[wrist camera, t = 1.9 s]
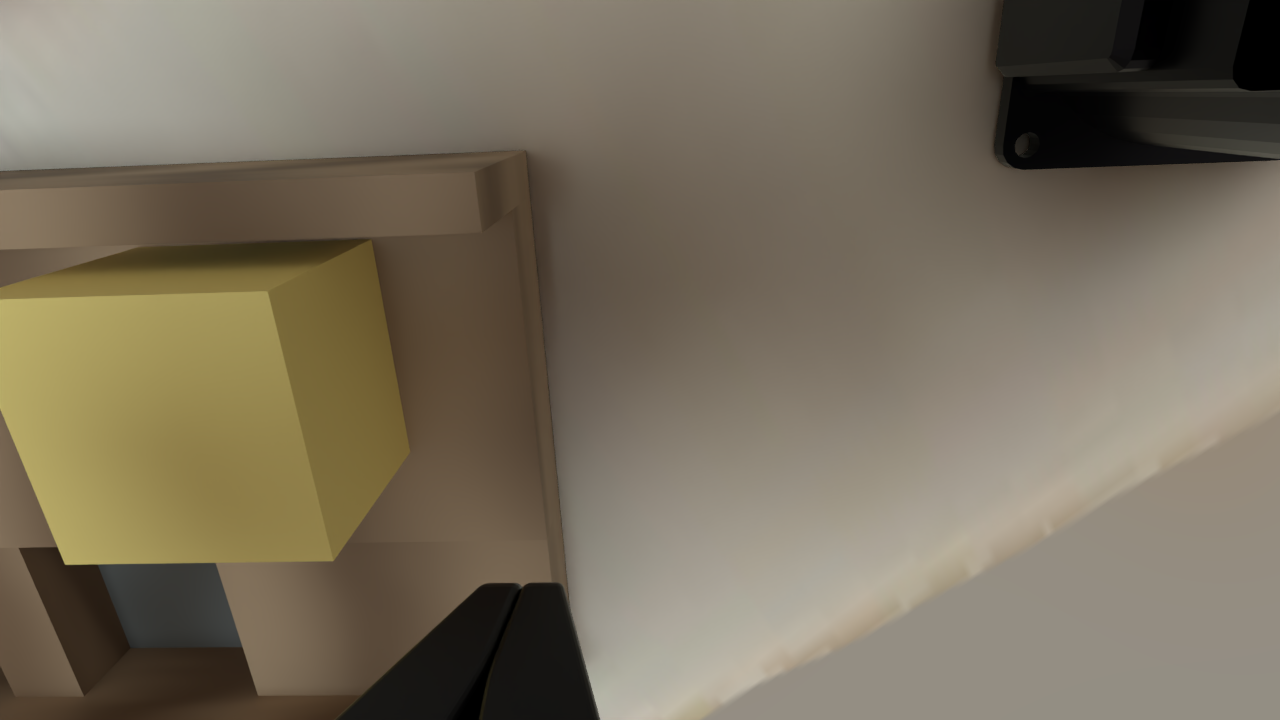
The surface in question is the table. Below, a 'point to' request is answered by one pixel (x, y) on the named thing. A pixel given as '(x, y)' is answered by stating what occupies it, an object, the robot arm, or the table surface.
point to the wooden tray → (401, 516)
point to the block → (204, 401)
